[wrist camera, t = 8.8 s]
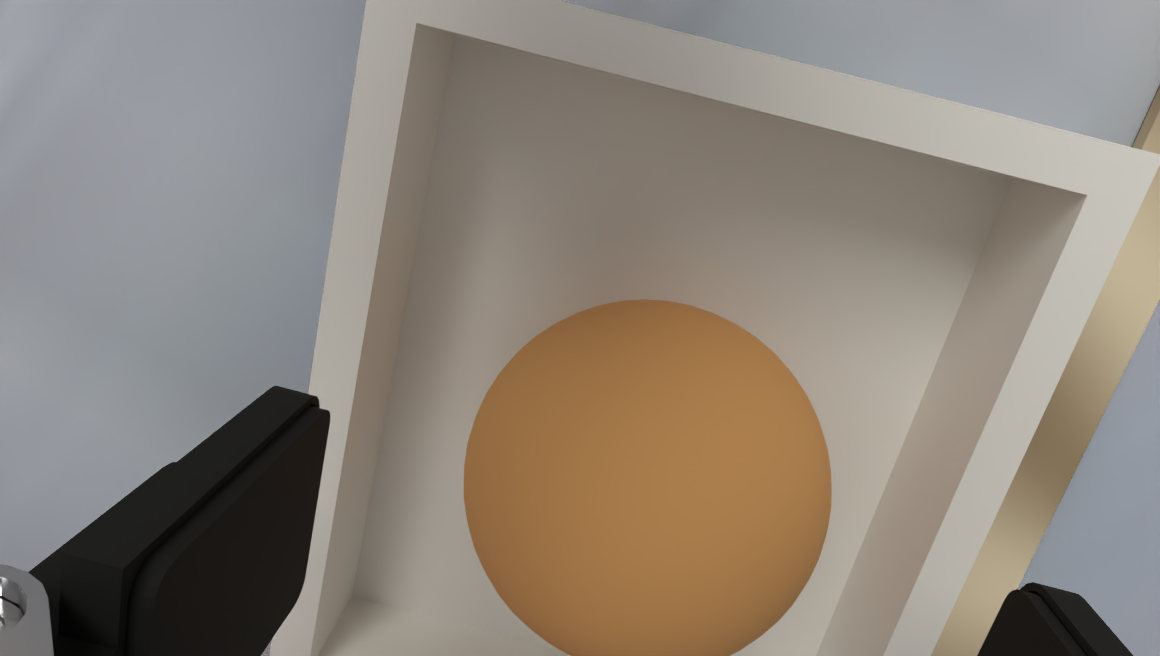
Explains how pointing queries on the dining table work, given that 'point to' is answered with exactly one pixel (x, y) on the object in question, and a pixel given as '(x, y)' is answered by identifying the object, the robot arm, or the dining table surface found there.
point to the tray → (685, 297)
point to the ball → (647, 483)
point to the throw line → (1065, 420)
